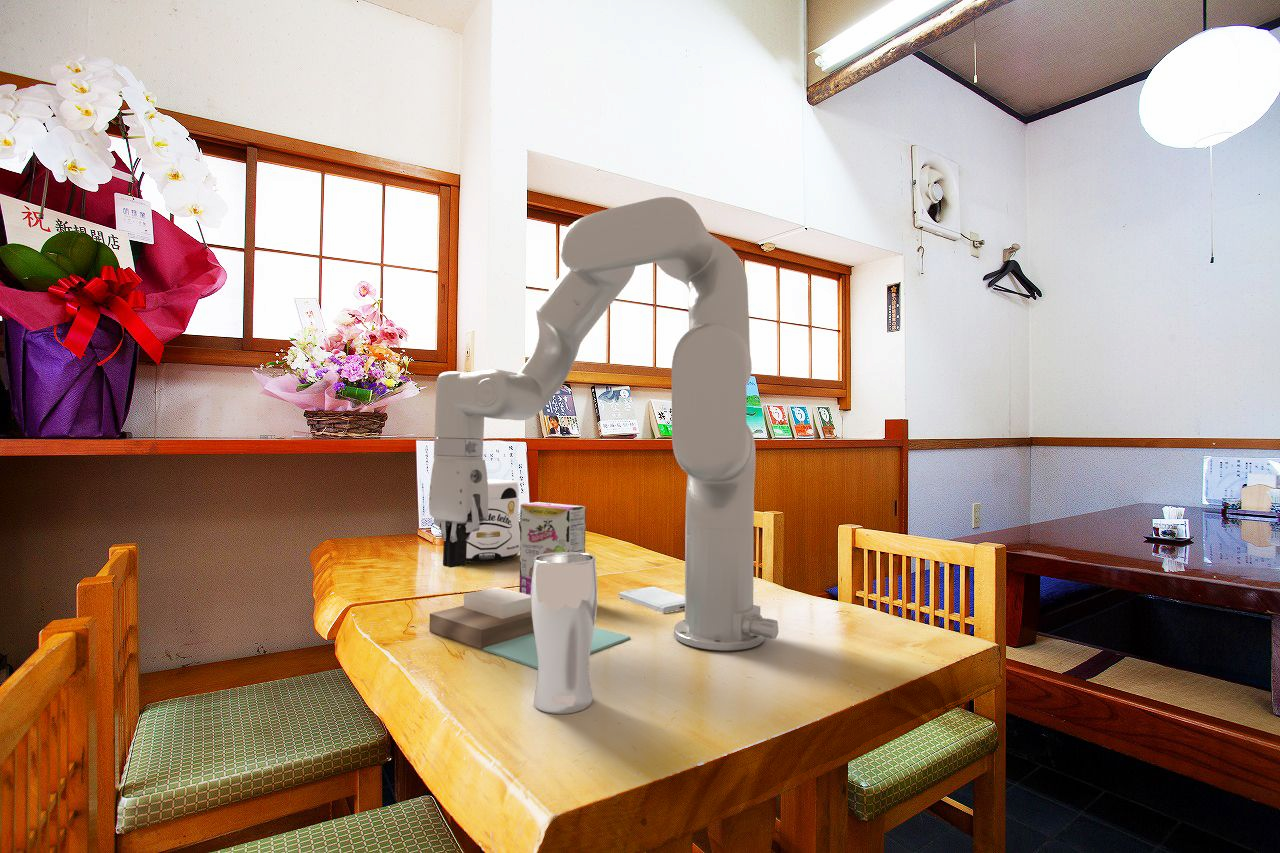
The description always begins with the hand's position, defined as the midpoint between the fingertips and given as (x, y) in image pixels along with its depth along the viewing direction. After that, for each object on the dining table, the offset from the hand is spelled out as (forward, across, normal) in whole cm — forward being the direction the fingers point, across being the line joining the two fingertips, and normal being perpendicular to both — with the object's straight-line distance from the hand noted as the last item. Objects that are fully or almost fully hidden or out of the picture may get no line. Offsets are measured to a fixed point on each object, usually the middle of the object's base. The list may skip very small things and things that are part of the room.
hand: (454, 565), depth 97 cm
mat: (+7, -24, 0) cm, 25 cm away
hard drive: (+8, -21, -27) cm, 35 cm away
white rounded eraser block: (+5, -11, 0) cm, 12 cm away
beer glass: (+7, -38, +12) cm, 40 cm away
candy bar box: (+7, -6, -16) cm, 18 cm away
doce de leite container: (+8, +33, -31) cm, 46 cm away
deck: (+7, -12, 0) cm, 14 cm away
